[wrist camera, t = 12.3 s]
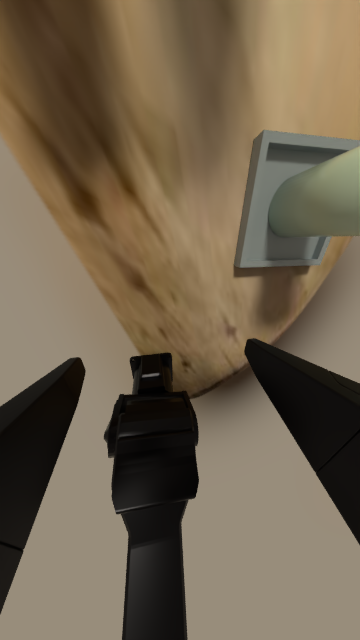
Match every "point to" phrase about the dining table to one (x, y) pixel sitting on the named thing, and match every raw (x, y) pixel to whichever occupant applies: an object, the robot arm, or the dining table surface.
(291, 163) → the tray
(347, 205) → the sage green mushroom knob
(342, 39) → the dining table surface
